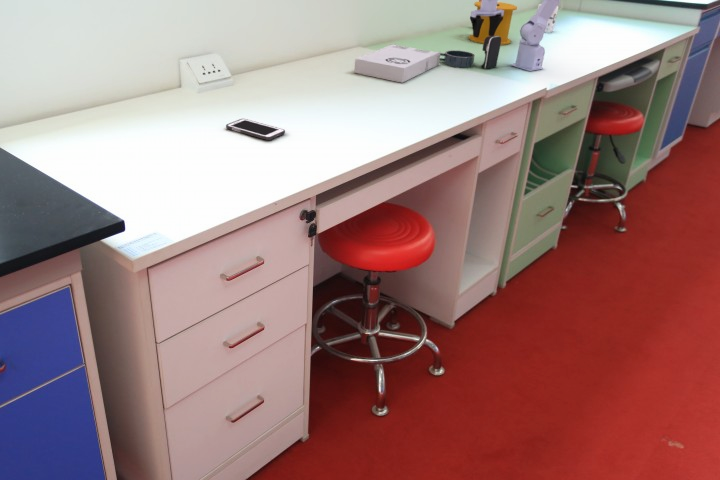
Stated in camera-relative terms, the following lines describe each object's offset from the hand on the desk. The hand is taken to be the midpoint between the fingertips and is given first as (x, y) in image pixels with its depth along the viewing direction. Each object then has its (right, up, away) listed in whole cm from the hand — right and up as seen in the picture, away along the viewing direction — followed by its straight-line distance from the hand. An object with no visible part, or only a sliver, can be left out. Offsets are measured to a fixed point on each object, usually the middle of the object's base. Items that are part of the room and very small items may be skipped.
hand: (483, 36), depth 253 cm
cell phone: (-78, -50, -73) cm, 118 cm away
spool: (+13, +13, +45) cm, 49 cm away
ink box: (+45, +26, +71) cm, 88 cm away
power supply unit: (-33, -15, -7) cm, 37 cm away
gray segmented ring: (-10, -9, +4) cm, 14 cm away
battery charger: (+2, -11, +2) cm, 11 cm away
